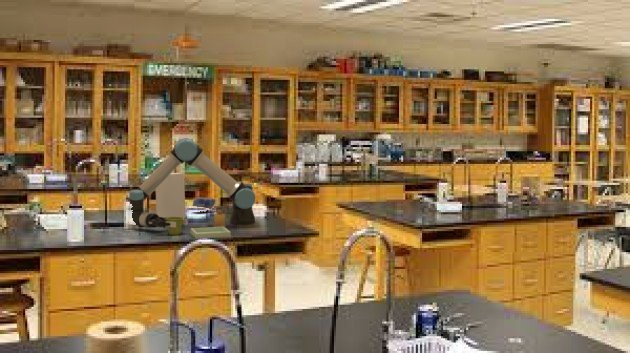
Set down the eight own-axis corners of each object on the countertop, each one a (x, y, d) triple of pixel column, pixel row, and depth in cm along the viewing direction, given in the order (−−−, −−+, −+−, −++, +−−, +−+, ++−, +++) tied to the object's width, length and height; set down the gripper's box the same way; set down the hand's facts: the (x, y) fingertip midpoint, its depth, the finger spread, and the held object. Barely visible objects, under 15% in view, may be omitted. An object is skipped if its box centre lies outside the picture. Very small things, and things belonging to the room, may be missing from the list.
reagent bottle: (223, 229, 384) (223, 205, 383) (226, 230, 379) (225, 207, 377) (213, 229, 382) (212, 206, 381) (215, 231, 377) (215, 207, 375)
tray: (223, 232, 375) (223, 226, 375) (230, 237, 358) (230, 232, 358) (190, 233, 369) (190, 228, 369) (196, 239, 352) (196, 233, 352)
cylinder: (182, 221, 412) (181, 174, 410) (153, 220, 412) (152, 174, 410) (187, 216, 429) (187, 171, 427) (160, 216, 430) (159, 171, 427)
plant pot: (177, 231, 375) (177, 216, 374) (187, 234, 368) (187, 218, 368) (162, 234, 369) (162, 217, 368) (172, 236, 362) (171, 219, 361)
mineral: (196, 214, 438) (196, 198, 437) (191, 212, 446) (191, 197, 445) (218, 213, 445) (217, 197, 444) (212, 211, 453) (212, 196, 452)
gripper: (163, 224, 386) (194, 227, 375) (135, 229, 368) (167, 233, 357) (163, 210, 386) (194, 214, 374) (135, 215, 368) (167, 219, 356)
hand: (181, 223), depth 366 cm, fingers closed on plant pot, 8 cm apart
